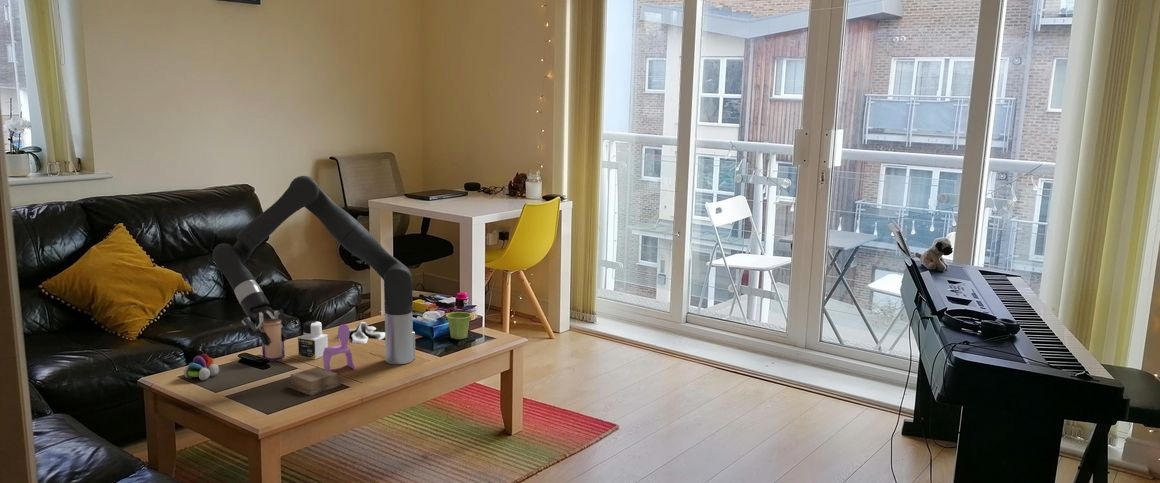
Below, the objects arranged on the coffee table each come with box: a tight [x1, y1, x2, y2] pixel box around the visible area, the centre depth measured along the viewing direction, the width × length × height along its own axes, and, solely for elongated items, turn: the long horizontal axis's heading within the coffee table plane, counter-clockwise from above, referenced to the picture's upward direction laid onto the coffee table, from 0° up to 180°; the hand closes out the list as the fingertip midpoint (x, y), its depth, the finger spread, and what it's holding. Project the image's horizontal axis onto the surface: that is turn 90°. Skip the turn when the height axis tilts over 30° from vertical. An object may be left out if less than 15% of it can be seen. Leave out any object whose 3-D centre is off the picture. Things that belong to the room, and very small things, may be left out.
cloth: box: [338, 321, 385, 345], centre depth 321 cm, size 22×19×6 cm
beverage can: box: [261, 341, 286, 362], centre depth 292 cm, size 7×7×12 cm
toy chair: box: [322, 323, 356, 371], centre depth 282 cm, size 8×9×15 cm
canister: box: [263, 319, 282, 358], centre depth 264 cm, size 5×5×11 cm
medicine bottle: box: [297, 320, 329, 360], centre depth 297 cm, size 7×7×12 cm
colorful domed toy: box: [183, 353, 220, 381], centre depth 274 cm, size 8×10×7 cm
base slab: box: [287, 366, 342, 396], centre depth 267 cm, size 11×11×4 cm
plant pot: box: [445, 311, 472, 340], centre depth 322 cm, size 9×9×9 cm
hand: (276, 341), depth 263 cm, fingers closed on canister, 5 cm apart
